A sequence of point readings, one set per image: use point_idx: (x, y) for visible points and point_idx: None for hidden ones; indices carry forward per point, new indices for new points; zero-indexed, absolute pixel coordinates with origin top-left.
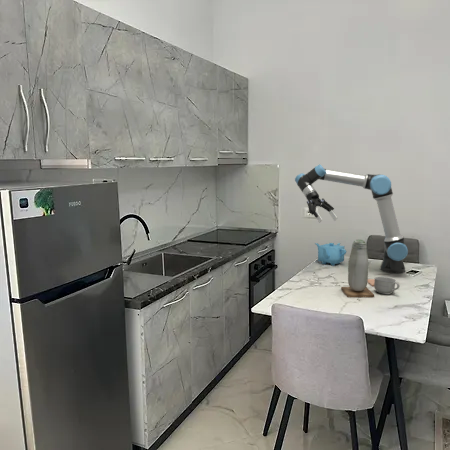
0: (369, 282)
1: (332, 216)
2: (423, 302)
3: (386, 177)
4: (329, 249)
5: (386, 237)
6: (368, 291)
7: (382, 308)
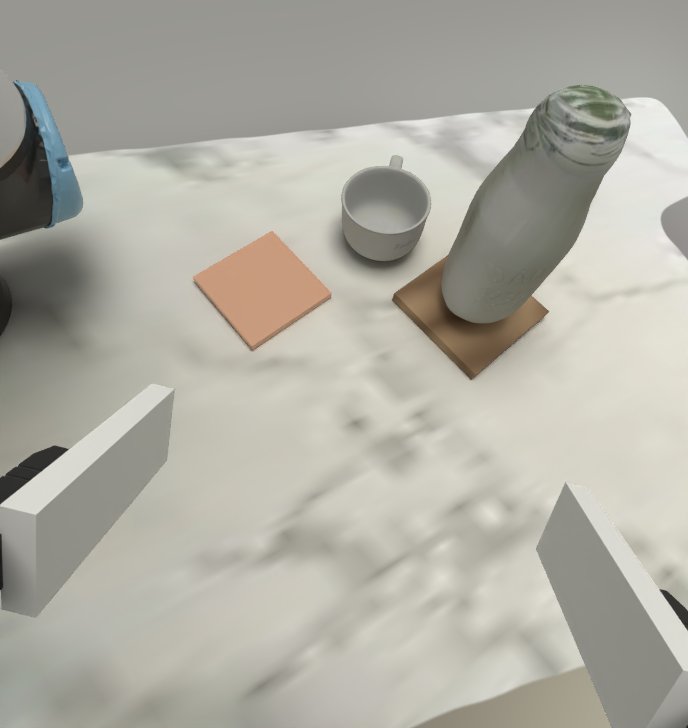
0: (300, 313)
1: (126, 492)
2: (392, 130)
3: None
4: None
5: None
6: None
7: None
